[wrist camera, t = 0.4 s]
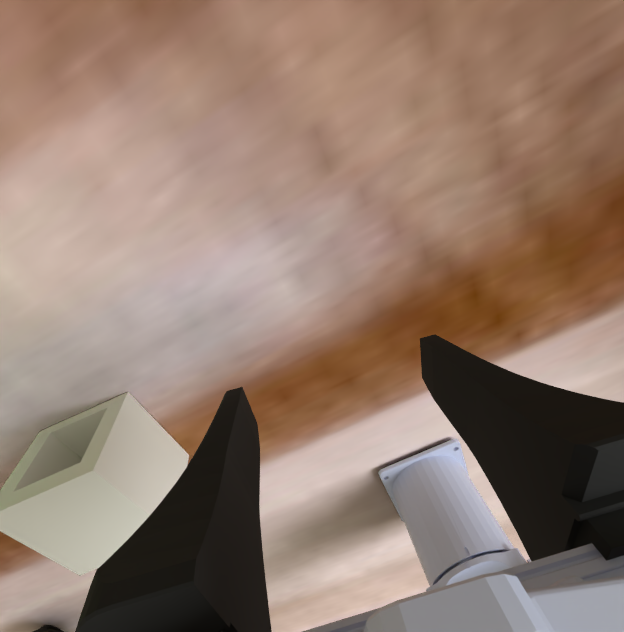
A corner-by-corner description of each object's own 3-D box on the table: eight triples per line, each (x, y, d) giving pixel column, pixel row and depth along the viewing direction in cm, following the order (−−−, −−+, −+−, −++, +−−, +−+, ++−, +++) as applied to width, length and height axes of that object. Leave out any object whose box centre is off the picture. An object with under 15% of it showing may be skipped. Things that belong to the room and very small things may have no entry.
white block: (191, 457, 28) (178, 538, 22) (115, 490, 28) (83, 578, 23) (127, 391, 24) (93, 470, 18) (39, 431, 24) (-20, 519, 19)
